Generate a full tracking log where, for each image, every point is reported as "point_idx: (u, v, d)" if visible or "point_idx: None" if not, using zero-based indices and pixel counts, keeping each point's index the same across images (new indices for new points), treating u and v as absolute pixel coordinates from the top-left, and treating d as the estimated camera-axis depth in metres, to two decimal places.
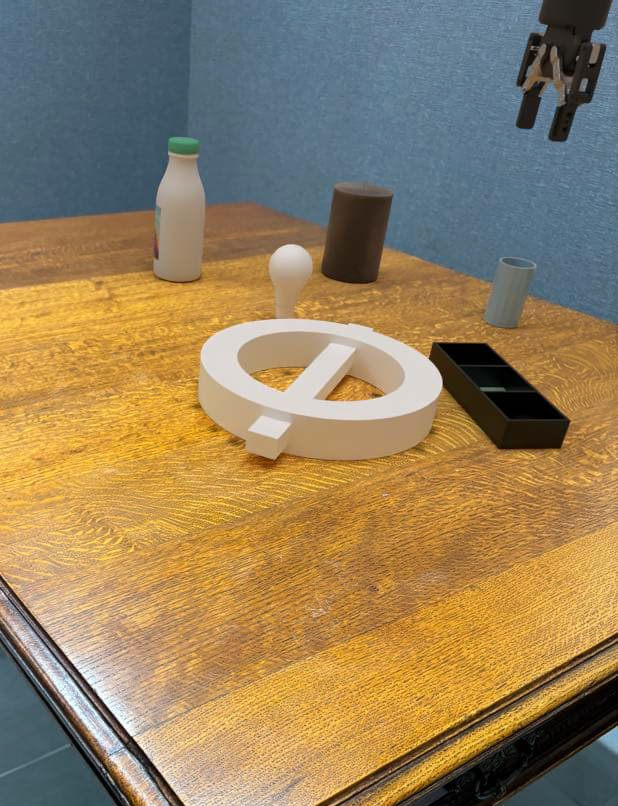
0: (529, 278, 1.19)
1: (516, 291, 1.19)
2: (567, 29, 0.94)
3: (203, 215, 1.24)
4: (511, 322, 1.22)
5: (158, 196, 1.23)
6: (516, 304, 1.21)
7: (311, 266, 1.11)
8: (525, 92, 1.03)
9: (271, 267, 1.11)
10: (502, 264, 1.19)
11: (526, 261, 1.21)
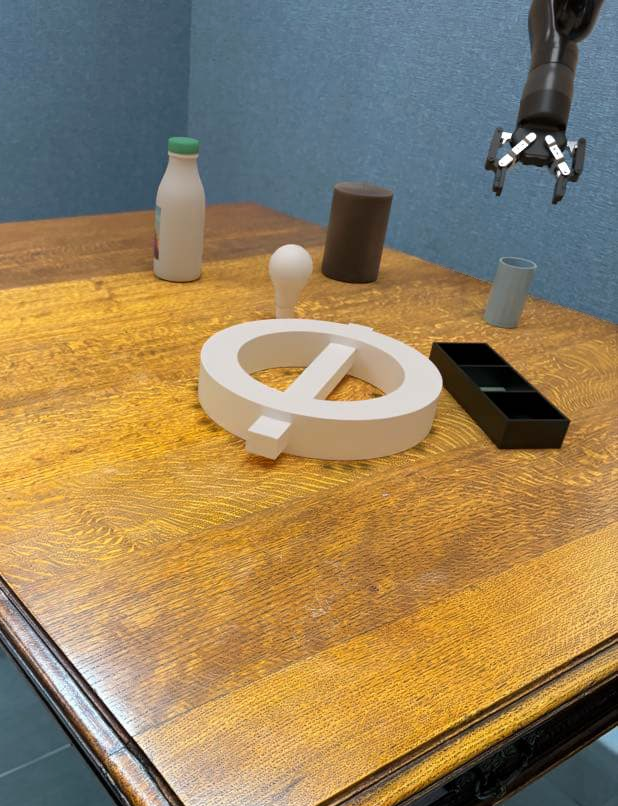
0: (529, 278, 1.19)
1: (516, 291, 1.19)
2: None
3: (203, 215, 1.24)
4: (511, 322, 1.22)
5: (158, 196, 1.23)
6: (516, 304, 1.21)
7: (311, 266, 1.11)
8: None
9: (271, 267, 1.11)
10: (502, 264, 1.19)
11: (526, 261, 1.21)
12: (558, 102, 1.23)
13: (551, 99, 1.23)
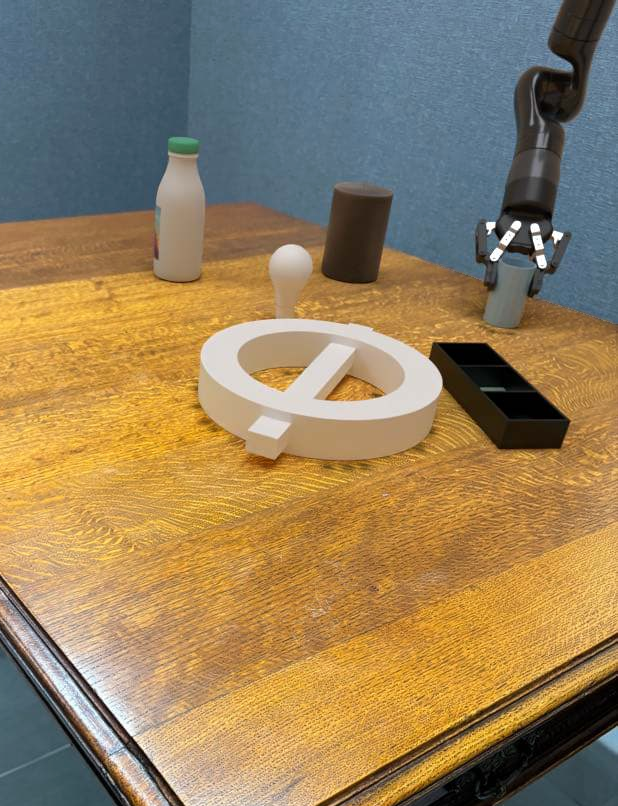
0: (529, 278, 1.19)
1: (516, 291, 1.19)
2: None
3: (203, 215, 1.24)
4: (511, 322, 1.22)
5: (158, 196, 1.23)
6: (516, 304, 1.21)
7: (311, 266, 1.11)
8: None
9: (271, 267, 1.11)
10: (502, 264, 1.19)
11: (526, 261, 1.21)
12: (544, 190, 1.19)
13: (536, 187, 1.19)
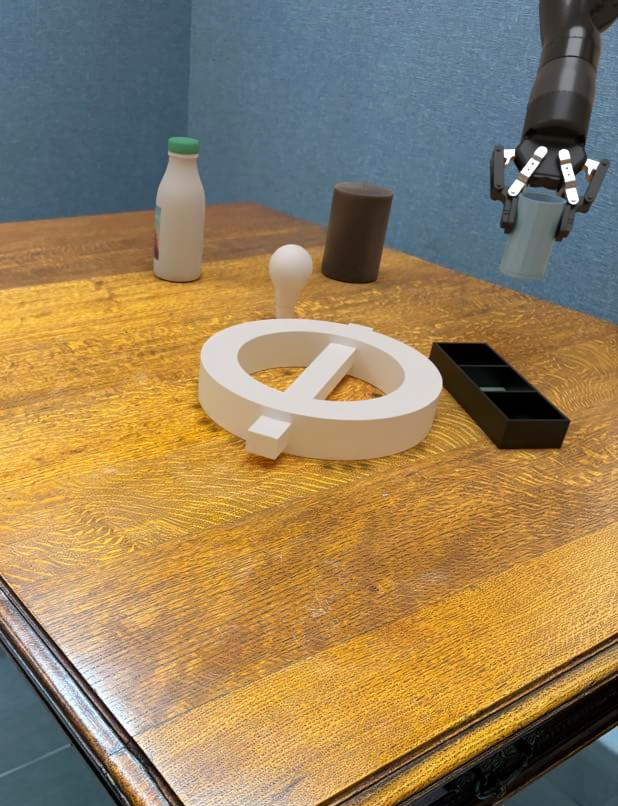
0: (557, 216, 0.96)
1: (541, 233, 0.96)
2: None
3: (203, 215, 1.24)
4: (534, 272, 0.99)
5: (158, 196, 1.23)
6: (540, 249, 0.98)
7: (311, 266, 1.11)
8: None
9: (271, 267, 1.11)
10: (523, 199, 0.96)
11: (553, 196, 0.98)
12: (576, 107, 0.96)
13: (566, 103, 0.96)
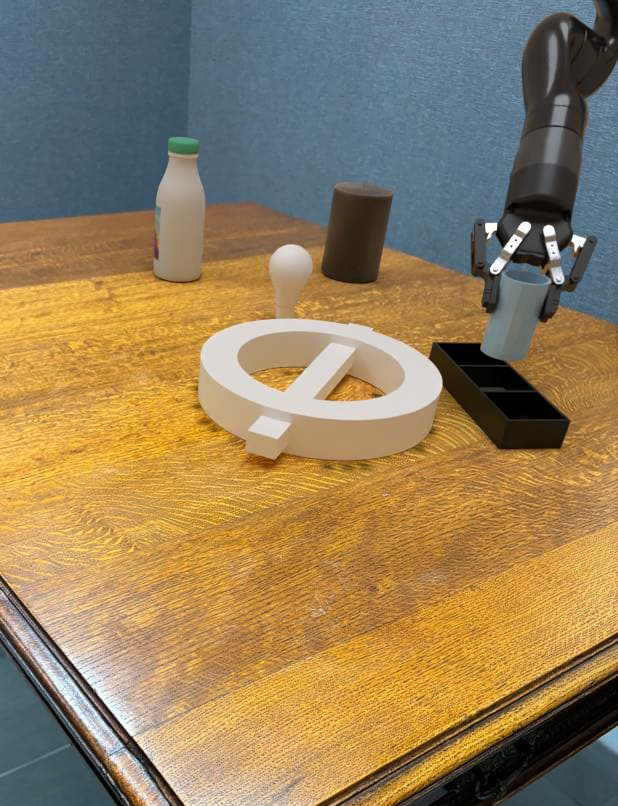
0: (541, 297, 0.90)
1: (525, 314, 0.91)
2: None
3: (203, 215, 1.24)
4: (517, 354, 0.94)
5: (158, 196, 1.23)
6: (524, 331, 0.92)
7: (311, 266, 1.11)
8: None
9: (271, 267, 1.11)
10: (506, 279, 0.90)
11: (537, 274, 0.92)
12: (561, 181, 0.90)
13: (551, 177, 0.90)
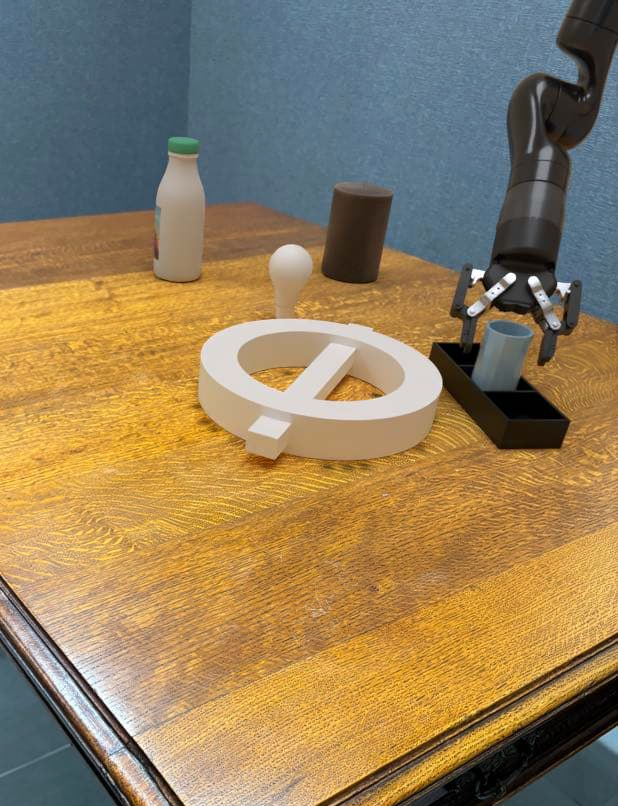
0: (524, 349, 0.94)
1: (508, 365, 0.94)
2: None
3: (203, 215, 1.24)
4: None
5: (158, 196, 1.23)
6: (508, 380, 0.95)
7: (311, 266, 1.11)
8: None
9: (271, 267, 1.11)
10: (490, 331, 0.94)
11: (520, 326, 0.96)
12: (545, 234, 0.94)
13: (535, 230, 0.94)
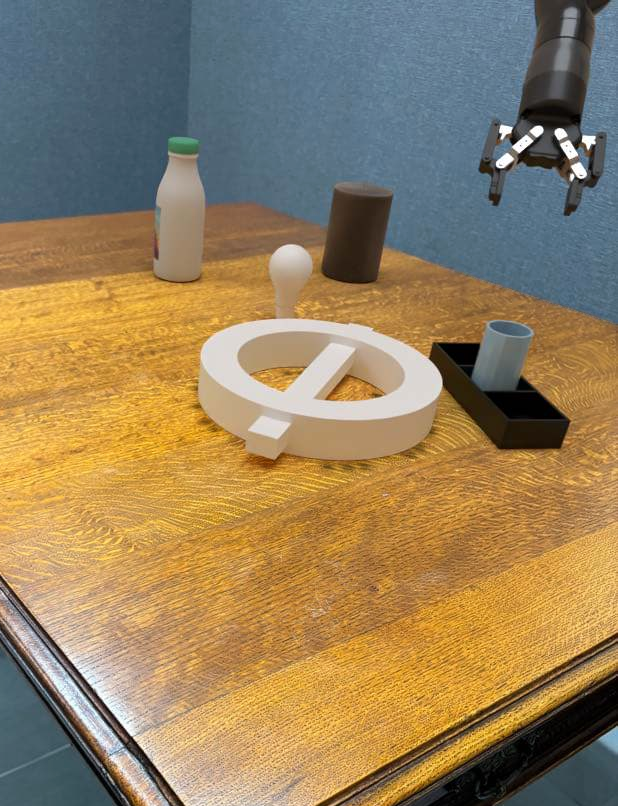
0: (524, 349, 0.94)
1: (508, 365, 0.94)
2: None
3: (203, 215, 1.24)
4: None
5: (158, 196, 1.23)
6: (508, 380, 0.95)
7: (311, 266, 1.11)
8: None
9: (271, 267, 1.11)
10: (490, 331, 0.94)
11: (520, 326, 0.96)
12: (571, 87, 0.97)
13: (562, 83, 0.97)
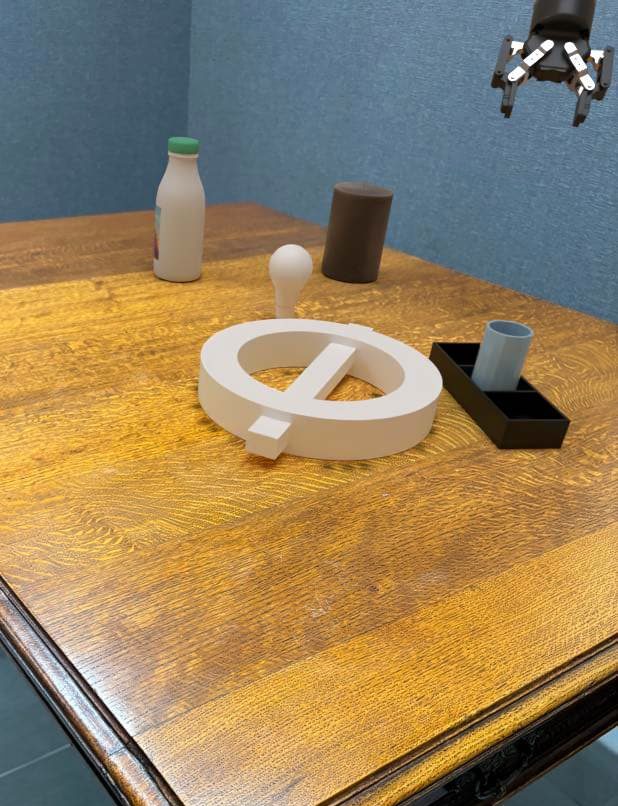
0: (524, 349, 0.94)
1: (508, 365, 0.94)
2: None
3: (203, 215, 1.24)
4: None
5: (158, 196, 1.23)
6: (508, 380, 0.95)
7: (311, 266, 1.11)
8: None
9: (271, 267, 1.11)
10: (490, 331, 0.94)
11: (520, 326, 0.96)
12: (580, 2, 1.02)
13: None
